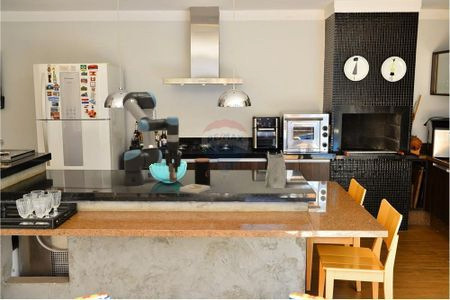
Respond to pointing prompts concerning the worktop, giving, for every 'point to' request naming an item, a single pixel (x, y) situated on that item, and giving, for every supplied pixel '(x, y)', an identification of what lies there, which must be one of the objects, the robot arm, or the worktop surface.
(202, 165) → the coffee jar
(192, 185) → the candle dish
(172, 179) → the wooden wedge
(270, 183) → the grocery bag
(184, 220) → the worktop surface
